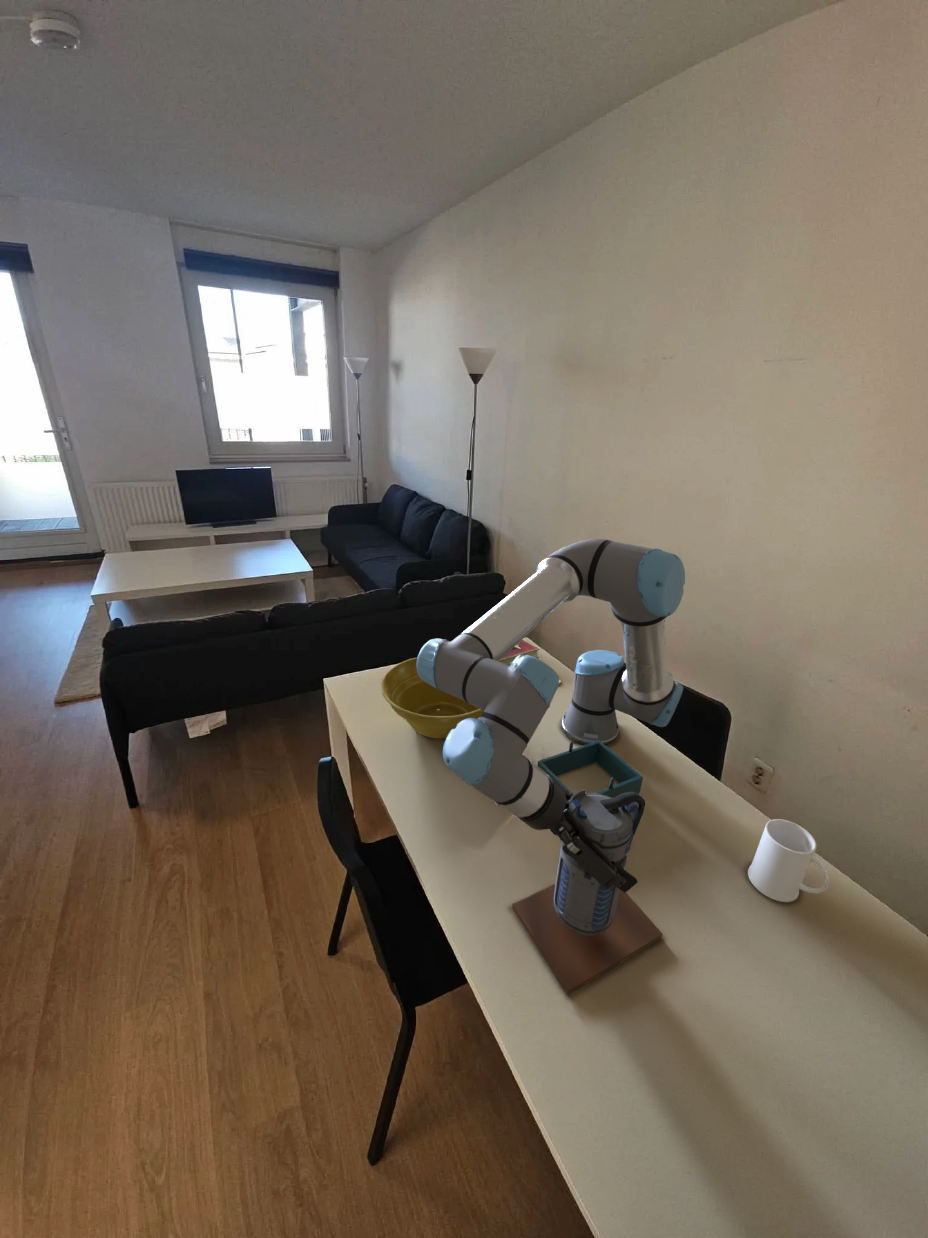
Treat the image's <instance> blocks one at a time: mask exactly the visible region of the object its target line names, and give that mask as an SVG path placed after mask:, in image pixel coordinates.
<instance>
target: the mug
mask: <svg viewBox="0 0 928 1238" xmlns="http://www.w3.org/2000/svg"><path fill="white" fill-rule="evenodd" d="M816 850H817V841H816V839H815V838H814V836H813V835H812V834H811V833H810V832H809V831H808V830H806V828H804V827H803V826H801V825H799V824H797V823H795V822H793V821H790V820H787V819H781V818H773V819H770V820H768V821H767V822H766V823H765V826H764V829H763V832H762V835H761V837H760V840H759V843H758V846H757V849H756V850H755V853H754V857H753V860H752V862H751V864H750V865H749V866H748V869H747V876H748V879H749V881H750V882H751V884H752V885H753V887H754V888H755V889H756V890H757V891H759V892H760V893H761V894H762V895H763V896H765V897H767V898H769V899H772V900H774V901H776V902H782V903H791V902H794V901H795V900H797V899H798V897H799V895H800V890H801V891H803V892H806V893H809V894H821V893H822V892H823V893H824V892H825V891H826V890H827V889H828V888H829V885H830V877H829V872H828V871H827V869H826V867H825V866H824V864H823V863H822V861H821V860H819V858H818V857H817V856H816V855H815V853H816ZM811 862H812V863H814V864H815V865H816V866H817V867H818V868H819V870H820V871H821V873H822V874H823V878H824V884H823V886H822V887H820V888H814V887H813V888H812V887H809V886H807V885H805V884H804V883H803V881H804V879H805V876H806V874H807V871H808V869H809V868H810V864H811Z"/></svg>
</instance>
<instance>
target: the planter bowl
mask: <svg viewBox="0 0 928 1238" xmlns="http://www.w3.org/2000/svg"><path fill="white" fill-rule="evenodd" d="M417 658H418V656H417V657H413V658H409V659H406V660H403V661H402V662H399V663H397V664H396V665H394V666H393V667H391V668H390V669H389V670H388V671H386V673H385V674H384V675H383V677H382V678H381V681H380V693H381V695H382V697H383V698H384V699H385V701H386V702H387V703H388V704H389V705H390V707H391V708H392V710H393V711H394V712H395V713H396V714H397V715H398V716H400V717H401V718H402V719H404V720H405V721H406V722H407V723H408V725H409V726H410V727H411V728H412V729H413V730H415V732H417V733H419V734H420V735H422V736H425V737H427V738H433V739H446V738H447V736H448V734H449V733H450V731H451V730H452V729H455V728H456V727H457V724H458V723H459V722H461V721H462V720H464V719H467V718H476V719H478V720H479V718H480V717H481V715H482V713H483V712H484V710H482V709H480V708H478V707H475V706H473V705H471V704H469V703H467V702H465V701H463V700H461V699H459V698H457V697H455V696H452V695H450V694H448V693H446V692H444V691H442V690H437V689H436V688H435V687H433V686H431V685H430V684H428V683H426V682H425V681H423V680H422V679H421V678H420V677H419V675H418V672H417V667H416V663H417Z"/></svg>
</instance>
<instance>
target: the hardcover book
mask: <svg viewBox="0 0 928 1238" xmlns="http://www.w3.org/2000/svg"><path fill="white" fill-rule="evenodd" d="M538 651H540V648H538V647H537V646H535V645H534V644H532V643H530V642H528V641H526V640H525V639H524V638H523V639H522V640H521V641H520V642H519V643H518V644H517V645H516V646H515V647H513V648H512V649H511V650H510V651H509V652H508V653H507V654H506V655H505V656H504V657H503V658H502V659H500V660H499V661H498V662H500V663H503V664H506V665H508V666H510V664H511V662H513V661H514V659H515V658H516V657H517V656H519V655H525V656H526V655H529V656H532V657H535V658H537V659H539V660H540V658H539V657H538V653H539V652H538Z"/></svg>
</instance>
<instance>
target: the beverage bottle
mask: <svg viewBox="0 0 928 1238" xmlns="http://www.w3.org/2000/svg"><path fill="white" fill-rule="evenodd" d="M586 792H587V789H586V788H584V789H580V790H578V791H576V792H575V793H573V794H574V795H572V797H571V798H570V800H569V805H568V806H567V808H568V809H569V810H570V811H571V812H572V813H573V815H574V818H575V819H576V820H577V821H578V822H579V823H580V825H581V826H582V827H583V829H584V830H585V836H586V837H587V838H588V839H589V840H590V841H591V843H592V844H593V845H594V846H595V847H596V848H597V849H598V850H599V851H600V852H601V853H603V854H604V855H605V856H606V857H607V859H608V860H609V861H610V862H612V861H614V862H615V863H617V864H618V865H619V866H621V867H622V868H623V869H625V870H626V865H627V858H628V855H629V854H630V851H631V849H632V844H633V840H634V837H635V835H636V832H637V830H638V827H639V825H640V823H641V820H642V818H643V816H644V812H645V808H646V804H647V803H646V799H645V798H644V797H643V796H642V795H641V794H640V795H639V794H637V793H635V792H627V793H622V794H620V795H618V796H617V797H615V798H611V797H608V796H605V795H602V794H596V792H593V793H592V792H589V793H586ZM576 831H578V829H577V828H576V829H575V830H574V831H573V832H572V833H571V836H572V835H573V834H574V833H575V832H576ZM564 845H565V844H564V842H563V841H562V840H561V844H560V851H559V857H558V864H557V871H556V878H555V883H554V884H555V891H554V900H553V903H554V908H555V911H556V913H557V915H558V917H559V918H560V920H561V921H562V922H563V924H564V925H565V926H566V927H568V928H569V929H570V930H572V931H573V932H574V931H575V932H576V933H578V934H580V935H585V936H594V935H597V934H600V933H602V932H604V931H606V930H607V929H608V928H609V927H610V926H611V925H612V922H613V920H614V916H615V911H616V907H617V902H618V897H619V893H620V889H619V888H617V887H616V886H614V885H613V886H612V887H611V888H610V889H608V890H607V889H605V888H604V887H603V886H602V885H601V884H599V883H598V881H597V880H596V879H595V878H594V877H593V876H591V875H590V874H589V873H588V872H587V871H586V870H585V869H584V868H583V867H582V866H581V865H580V864H579V863H578V862H576V861H575V860H574V859H573V858H572V857H570V856H568V855H567V854H566V853H564V851H563V849H562V847H563V846H564Z"/></svg>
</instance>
